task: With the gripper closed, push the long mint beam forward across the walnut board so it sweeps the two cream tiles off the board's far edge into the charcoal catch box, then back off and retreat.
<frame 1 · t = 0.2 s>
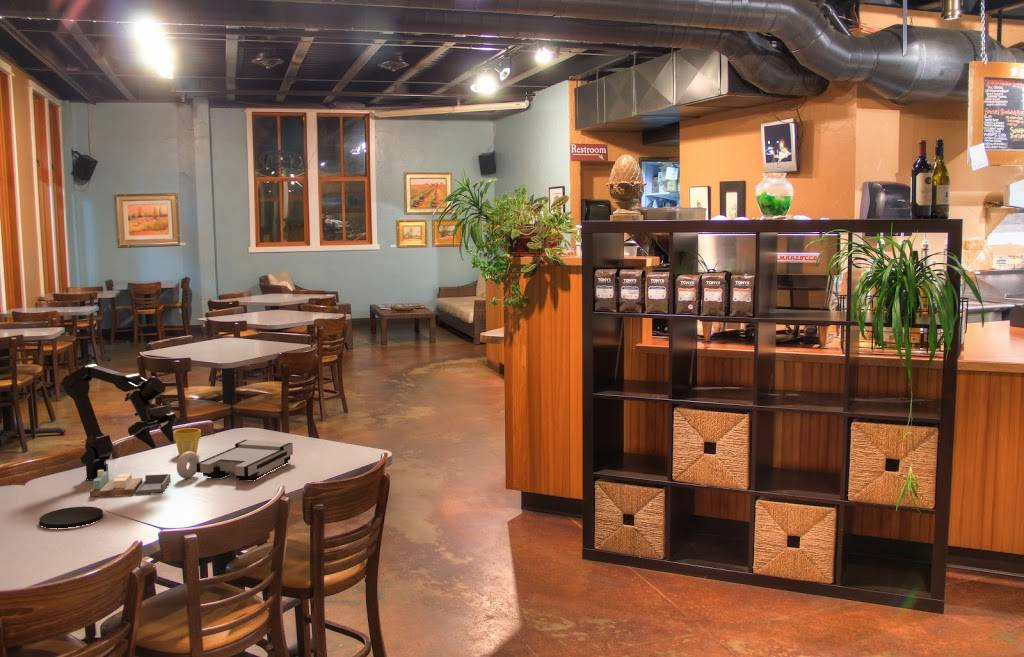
hand: (163, 444, 316), 15 cm above the table, tool tilted 30°, fingers open, 9 cm apart
plant pot: (188, 454, 363), on the table
wireless charger: (71, 522, 281), on the table
tile a: (121, 486, 311), point 2 cm above the table, touching walnut board
catch box: (153, 488, 315), on the table
game console: (247, 473, 336), on the table
long mint beam: (100, 477, 311), point 5 cm above the table, slide at 0.0 cm
tile b: (124, 482, 315), point 2 cm above the table, touching walnut board
donut: (188, 478, 328), on the table
walnut board: (117, 490, 313), on the table
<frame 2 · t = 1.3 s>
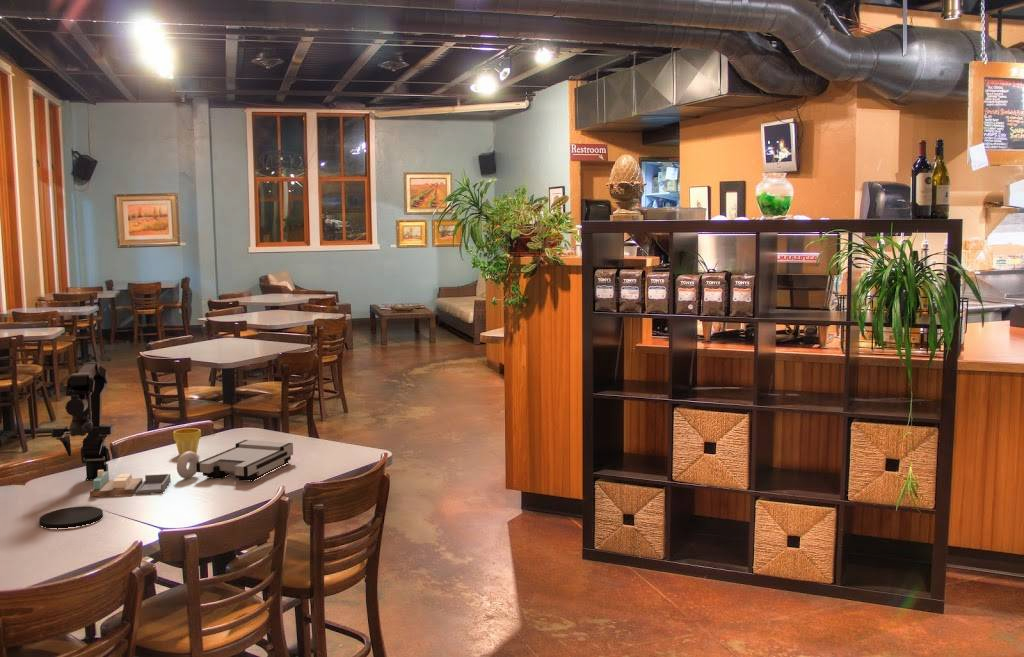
hand: (84, 455, 309), 13 cm above the table, tool pointing down, fingers open, 9 cm apart
nothing on the table moved.
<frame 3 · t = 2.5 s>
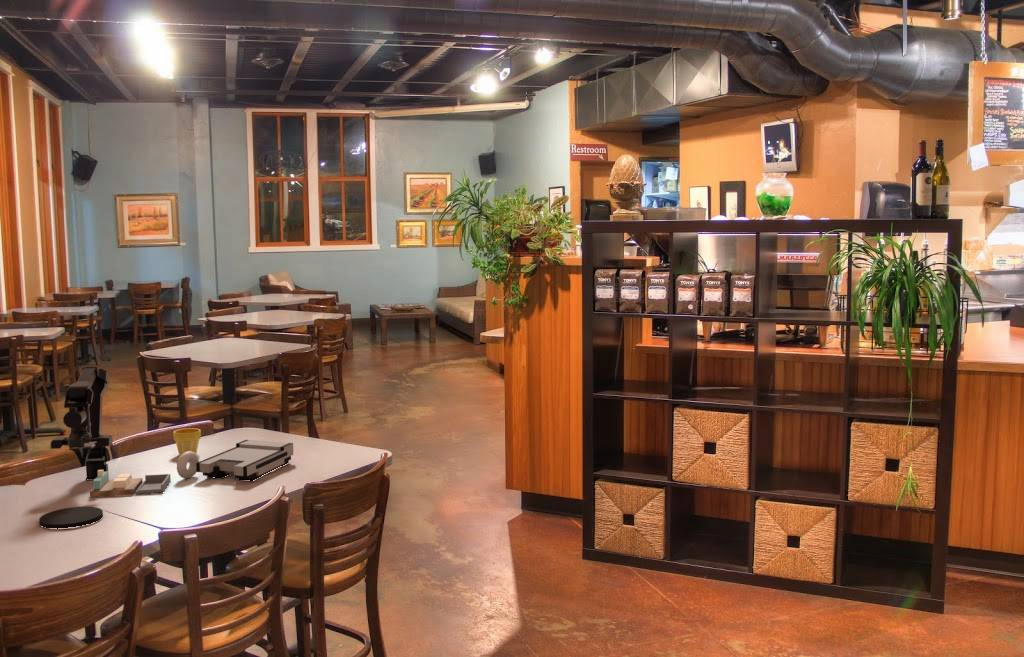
hand: (83, 466, 310), 9 cm above the table, tool pointing down, fingers closed
nothing on the table moved.
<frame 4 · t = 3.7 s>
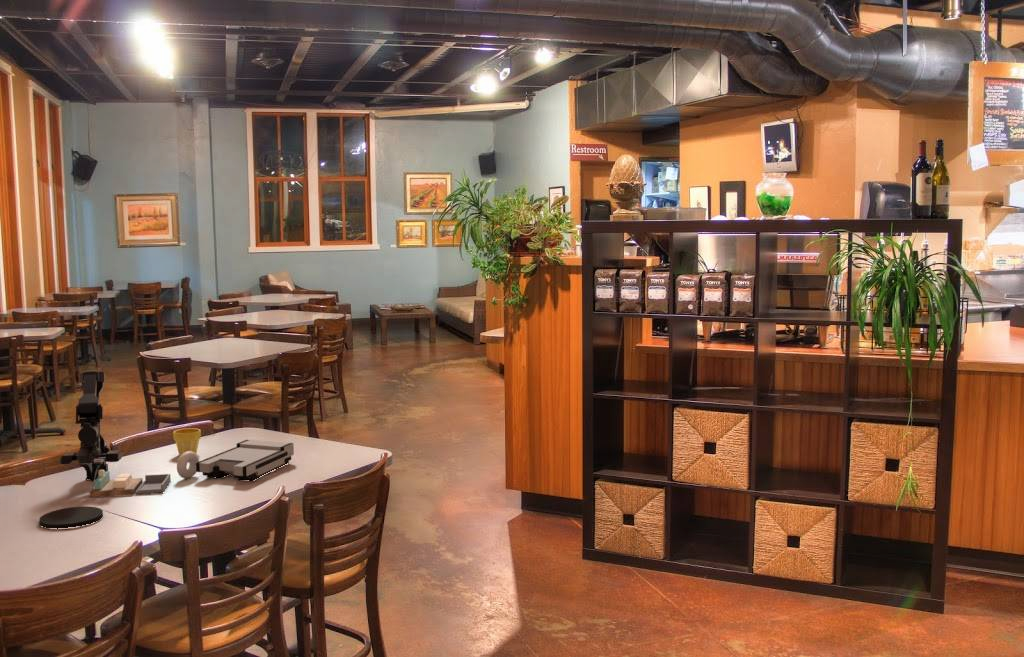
hand: (92, 481, 311), 4 cm above the table, tool pointing down, fingers closed
long mint beam: (101, 477, 311), point 5 cm above the table, slide at 0.3 cm, touching gripper
everything else where it was.
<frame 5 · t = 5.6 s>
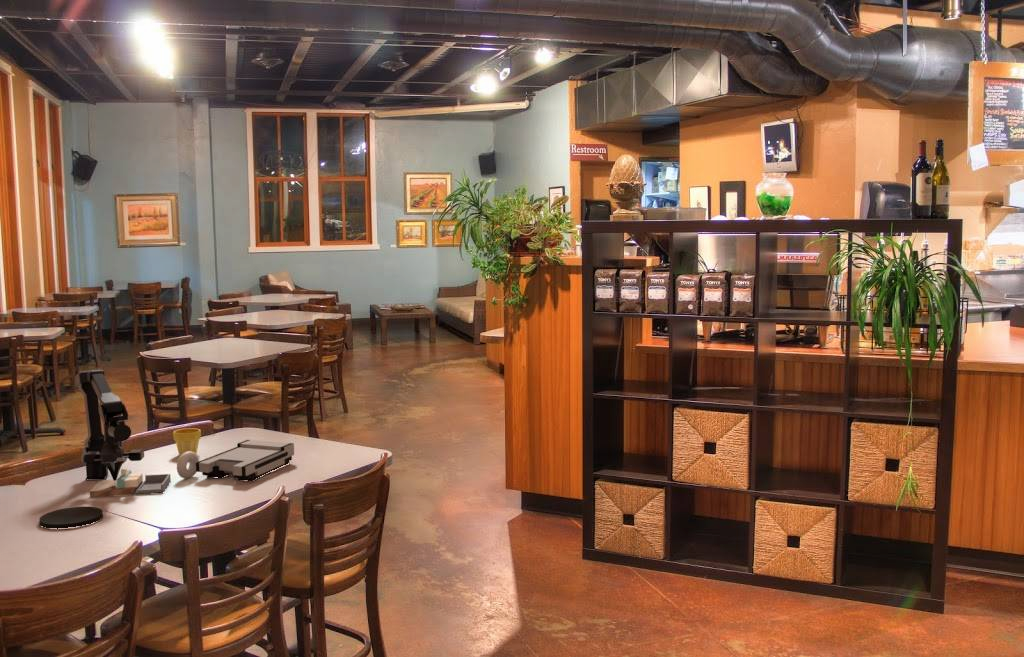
hand: (115, 480, 312), 4 cm above the table, tool pointing down, fingers closed
tile a: (132, 485, 311), point 2 cm above the table, touching walnut board
long mint beam: (124, 476, 313), point 5 cm above the table, slide at 7.6 cm, touching gripper
tile b: (135, 481, 316), point 2 cm above the table, touching walnut board
everything else where it was.
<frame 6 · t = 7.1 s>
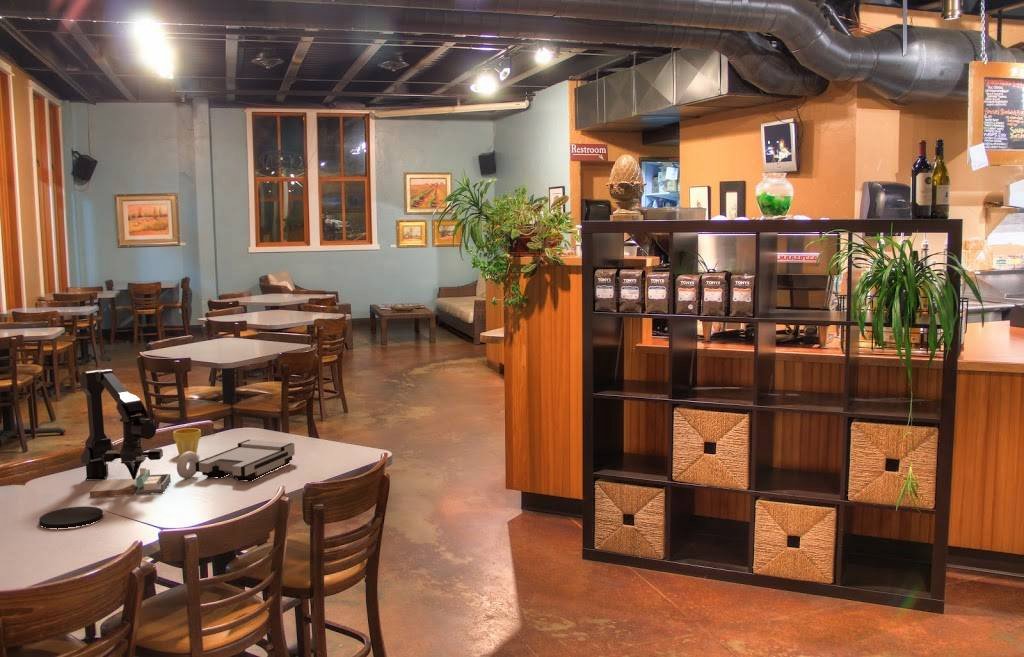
hand: (134, 479, 313), 4 cm above the table, tool pointing down, fingers closed
tile a: (151, 488, 312), resting on catch box, touching long mint beam
long mint beam: (143, 475, 314), point 5 cm above the table, slide at 13.8 cm, touching gripper, tile a, tile b
tile b: (154, 484, 317), resting on catch box, touching long mint beam
everything else where it was.
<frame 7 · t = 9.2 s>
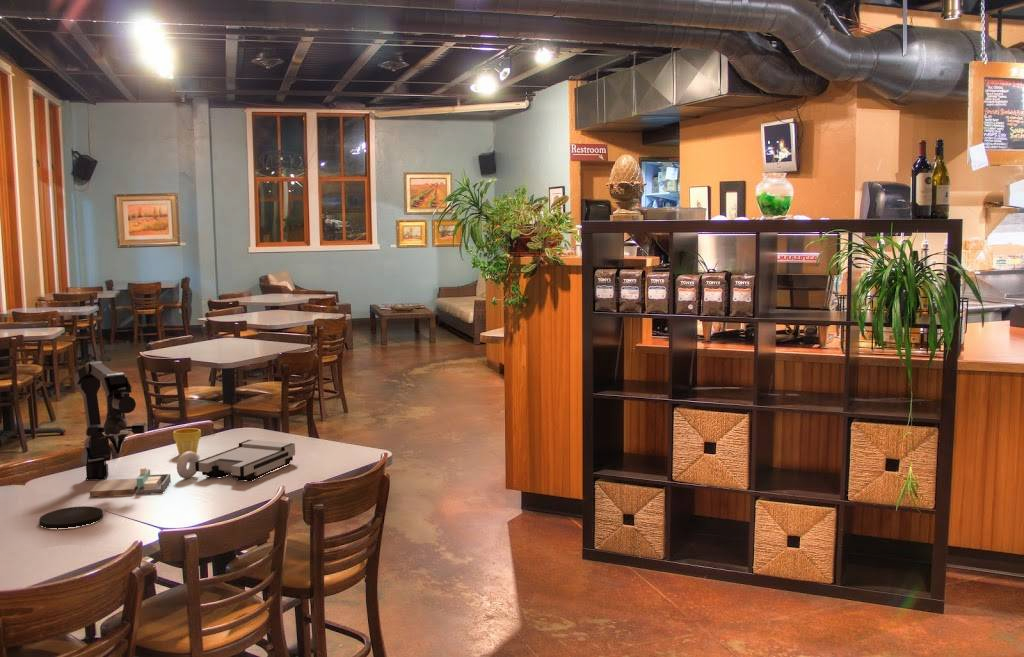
hand: (118, 453, 312), 13 cm above the table, tool pointing down, fingers closed
long mint beam: (143, 475, 314), point 5 cm above the table, slide at 13.9 cm, touching tile a, tile b
everything else where it was.
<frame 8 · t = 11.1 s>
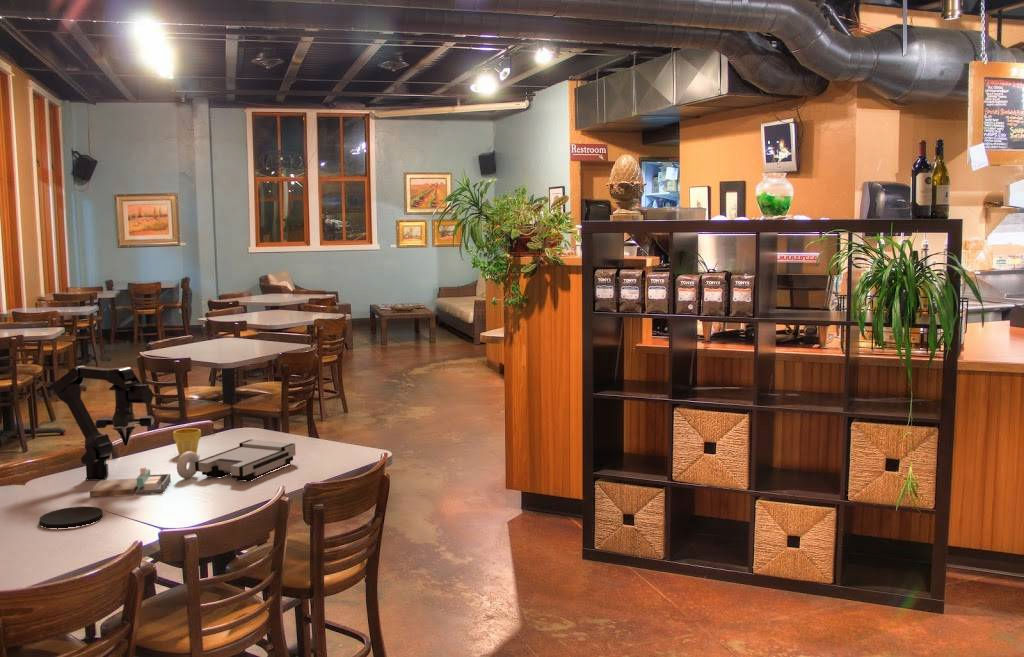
hand: (126, 445, 323), 13 cm above the table, tool pointing down, fingers closed
at the end: tile a inside the target area (2.5 cm from its centre), point 0.5 cm above the table; tile b inside the target area (2.5 cm from its centre), point 0.5 cm above the table; long mint beam slide at 13.9 cm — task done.
